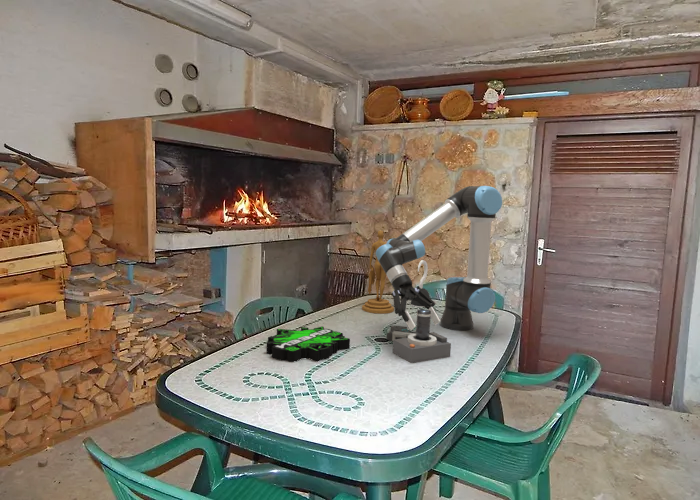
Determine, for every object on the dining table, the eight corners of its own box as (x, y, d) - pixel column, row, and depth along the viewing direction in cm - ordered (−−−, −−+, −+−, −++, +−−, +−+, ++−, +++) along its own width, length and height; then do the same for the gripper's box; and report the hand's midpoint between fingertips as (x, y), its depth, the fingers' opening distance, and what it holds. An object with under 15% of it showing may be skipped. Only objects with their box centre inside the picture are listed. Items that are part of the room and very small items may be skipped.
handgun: (441, 338, 201) (438, 348, 186) (390, 332, 206) (384, 342, 192) (441, 328, 200) (438, 338, 186) (391, 323, 206) (384, 332, 192)
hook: (425, 308, 251) (428, 262, 248) (406, 305, 257) (409, 260, 254) (433, 304, 260) (436, 260, 257) (415, 301, 266) (418, 258, 263)
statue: (396, 307, 250) (400, 230, 246) (391, 315, 234) (395, 232, 229) (365, 304, 254) (368, 228, 249) (358, 311, 238) (362, 230, 233)
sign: (305, 357, 158) (244, 338, 175) (304, 369, 159) (244, 349, 176) (360, 335, 185) (302, 321, 202) (359, 346, 185) (302, 331, 202)
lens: (423, 339, 180) (425, 308, 178) (432, 343, 175) (434, 311, 174) (412, 340, 177) (414, 309, 176) (420, 345, 173) (422, 312, 171)
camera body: (430, 346, 187) (431, 330, 186) (450, 356, 177) (451, 339, 176) (392, 352, 178) (393, 335, 178) (411, 362, 168) (412, 345, 167)
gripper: (416, 282, 195) (441, 326, 185) (371, 287, 179) (396, 335, 170) (426, 271, 190) (453, 315, 180) (381, 276, 175) (407, 325, 165)
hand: (425, 325), depth 175 cm, fingers open, 13 cm apart
